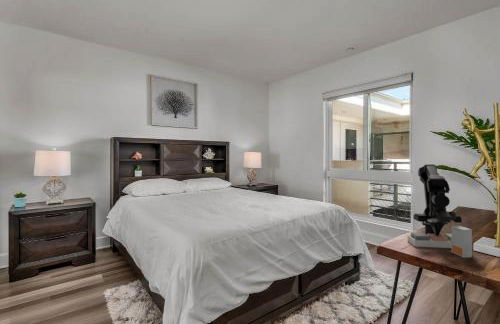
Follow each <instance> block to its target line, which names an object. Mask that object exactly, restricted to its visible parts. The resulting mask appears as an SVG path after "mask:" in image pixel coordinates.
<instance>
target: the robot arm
mask: <svg viewBox="0 0 500 324" xmlns="http://www.w3.org/2000/svg"><path fill="white" fill-rule="evenodd" d="M417 174H418V175H417V176H418V177H419V181H420V182H421V183H422V184H423V188H424V189H423V191H424V200H425V208H424V210H423V213H414V214H413V220H415V221H417V222H421V225H422V226H424V233H425V234H435V235H436V236H439V234H441V231H442V230H443V227H444V226H446V225H448V224H449V223H451V221H452V222H454V223H458V224H459V223H462V224H463V218H462V217H461V216H460V215H457V214H456V213H457V212H456V211H452V210H451V211H447V207H448V206H449V204H450V202H451V201H450V198H449V197H448V196H447V195H446V194H449V193H450V191H451V189H450V186H449V182H448V180H447V179H446V178H445V177H444V176H442V175H440V174H439V172H438V168H437V166H436V164H434V163H433V164H427V163H426V164H424V165H423V166H421V167H419V169H418V170H417Z"/></svg>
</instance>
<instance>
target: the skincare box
mask: <svg viewBox="0 0 500 324" xmlns="http://www.w3.org/2000/svg"><path fill="white" fill-rule="evenodd" d="M450 234H451V235H452V236H451V248H450V249H451V254H455V255H457V256H459V257H461V258H464V259H465V258H473V236H472V235H473V229H471V228H468V227H464V226H462V225H452V226H451V233H450Z"/></svg>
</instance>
